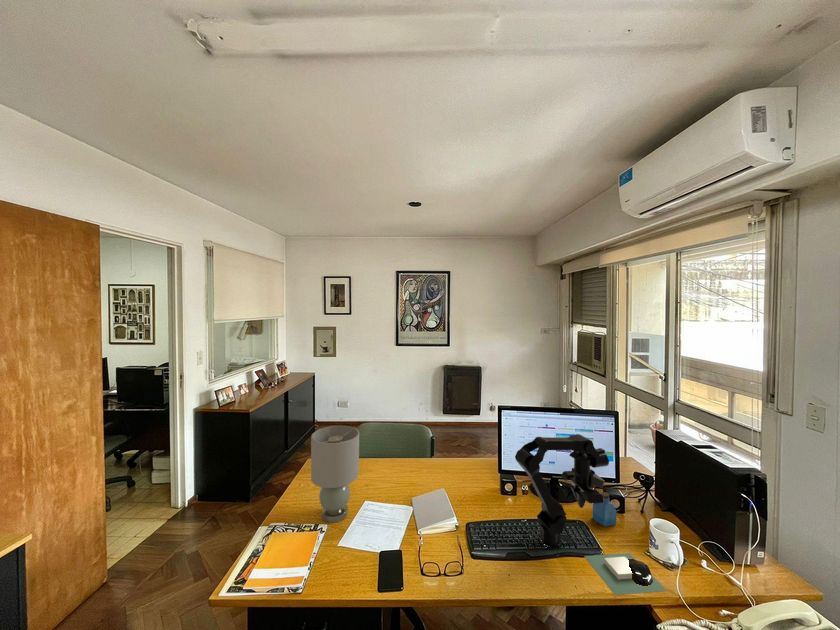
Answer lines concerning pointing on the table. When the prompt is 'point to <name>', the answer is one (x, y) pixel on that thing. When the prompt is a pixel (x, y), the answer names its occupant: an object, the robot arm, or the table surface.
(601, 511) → the blue bottle
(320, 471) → the lamp
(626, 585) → the mat
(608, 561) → the block
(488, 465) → the table surface
